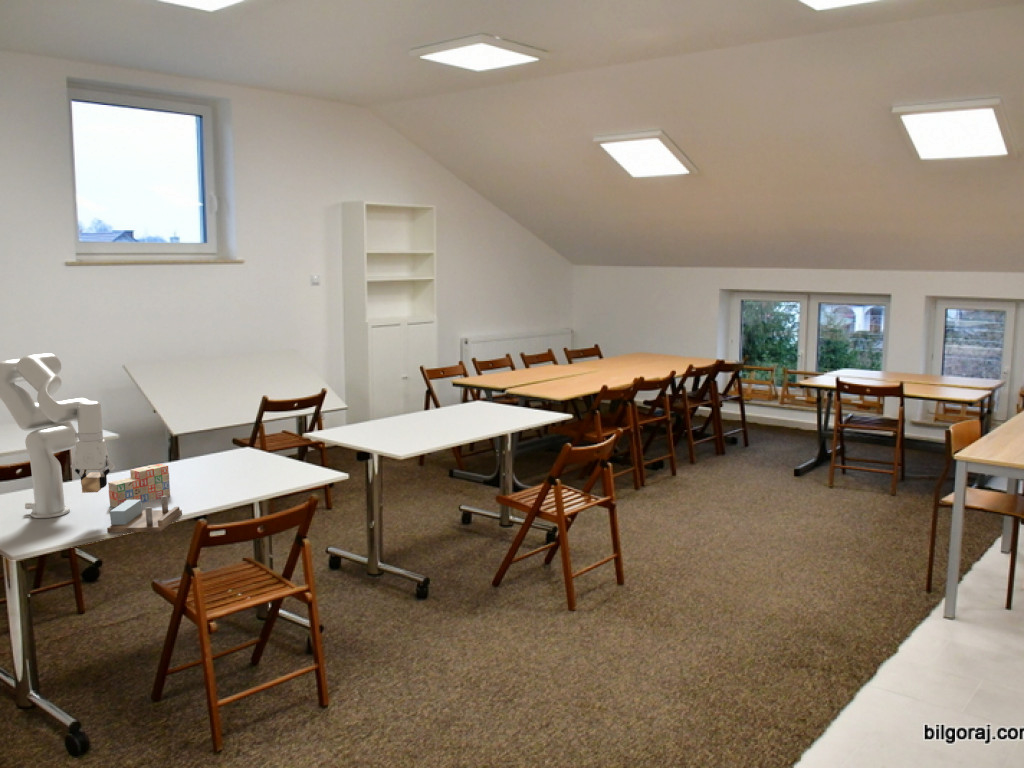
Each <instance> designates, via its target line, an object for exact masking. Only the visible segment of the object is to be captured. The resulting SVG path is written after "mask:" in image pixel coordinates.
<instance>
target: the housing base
mask: <svg viewBox="0 0 1024 768" xmlns="http://www.w3.org/2000/svg"><path fill="white" fill-rule="evenodd" d="M160 500H161V509H158V510H157V509H155V510H153V509H152V508H153V507H152V506H148V507H147V506H146V507H145V508H144V509H145V510H142V513H141V514H139V515H138V516H137V517H135V518H134V519H133V520H131V521H130V522H128V523H127V524H126V525H111V524H110V526H108V527H107V528H106V531H107V533H140V532H141V533H143V532H145V533H146V532H147V533H148V532H149V533H151V532H152V533H153V532H158V533H159V532H162V531H163V530H164V529H166V528H167V527H168V526H170V524H172V523H173V522H174V521H175V520H176V519H178V518H179V517H180V516H181V515H183V510H182V509H180V506H174V507H173V508H172V509H169V502H168V496H161V498H160Z"/></svg>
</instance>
